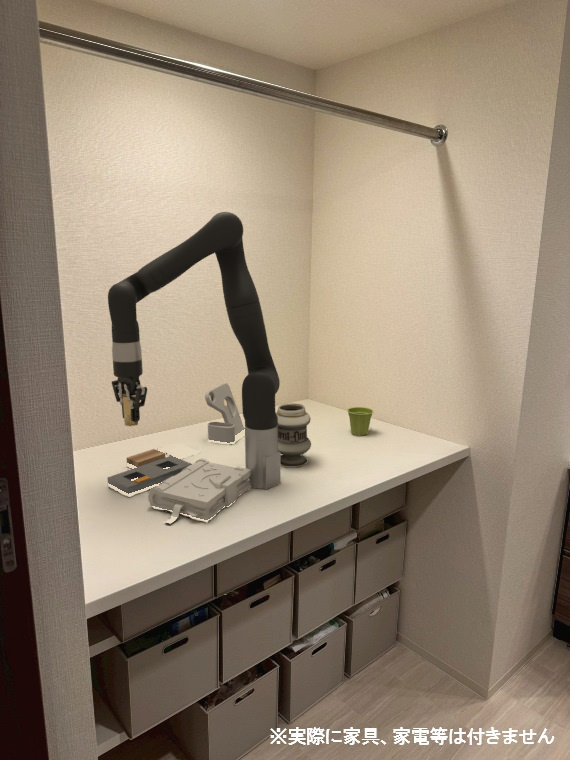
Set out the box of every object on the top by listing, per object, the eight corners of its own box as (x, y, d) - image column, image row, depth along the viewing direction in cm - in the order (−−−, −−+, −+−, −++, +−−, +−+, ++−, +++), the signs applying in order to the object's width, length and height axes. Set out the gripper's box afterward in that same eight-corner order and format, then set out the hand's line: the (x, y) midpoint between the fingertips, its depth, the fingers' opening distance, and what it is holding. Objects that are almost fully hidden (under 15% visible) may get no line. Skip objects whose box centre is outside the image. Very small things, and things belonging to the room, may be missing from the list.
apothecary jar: (264, 461, 173) (264, 406, 169) (291, 451, 181) (291, 399, 177) (292, 471, 165) (292, 414, 160) (318, 461, 173) (319, 406, 169)
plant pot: (345, 428, 204) (346, 406, 202) (370, 429, 204) (371, 406, 202) (347, 437, 195) (348, 414, 193) (373, 437, 195) (374, 414, 193)
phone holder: (231, 446, 186) (230, 395, 182) (205, 442, 189) (203, 392, 185) (251, 430, 202) (250, 383, 198) (226, 427, 205) (225, 381, 201)
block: (165, 462, 172) (165, 453, 171) (138, 471, 164) (137, 462, 164) (154, 457, 175) (153, 448, 175) (127, 466, 168) (126, 457, 167)
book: (134, 517, 137) (132, 489, 135) (197, 477, 162) (196, 452, 160) (199, 535, 129) (198, 506, 127) (254, 490, 154) (255, 464, 152)
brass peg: (140, 423, 150) (139, 395, 148) (129, 427, 148) (127, 398, 146) (133, 421, 153) (131, 393, 151) (122, 424, 150) (120, 396, 148)
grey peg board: (192, 473, 163) (192, 462, 163) (128, 497, 147) (127, 486, 146) (171, 464, 170) (171, 454, 169) (108, 487, 154) (107, 476, 153)
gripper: (154, 359, 144) (158, 421, 148) (124, 352, 153) (128, 411, 157) (130, 363, 139) (134, 428, 143) (100, 356, 148) (104, 417, 152)
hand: (131, 419), depth 150 cm, fingers closed on brass peg, 3 cm apart
